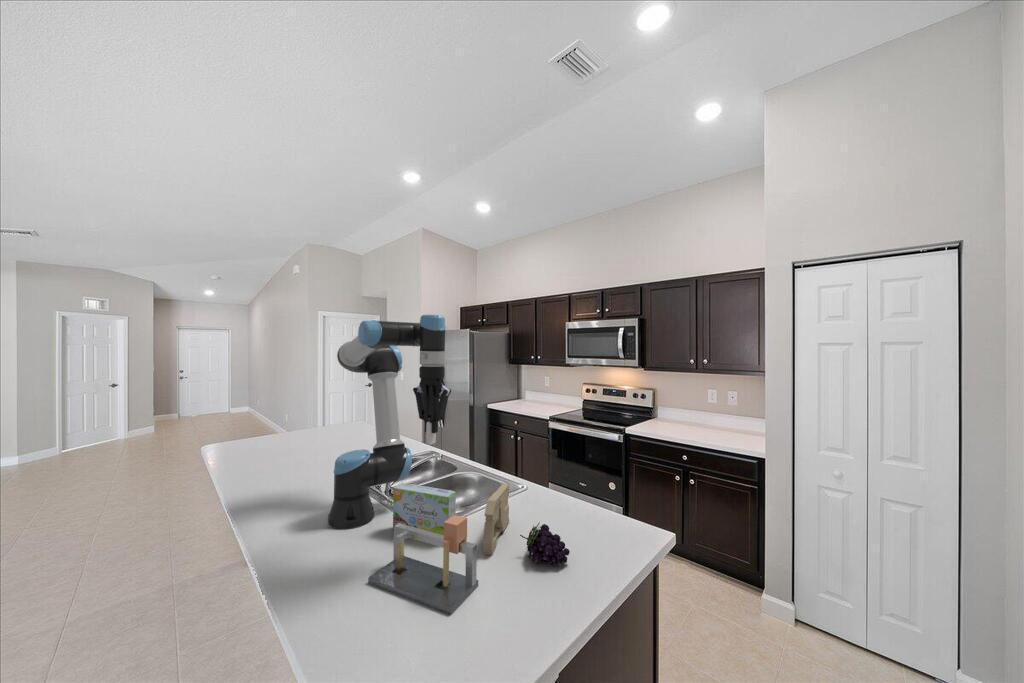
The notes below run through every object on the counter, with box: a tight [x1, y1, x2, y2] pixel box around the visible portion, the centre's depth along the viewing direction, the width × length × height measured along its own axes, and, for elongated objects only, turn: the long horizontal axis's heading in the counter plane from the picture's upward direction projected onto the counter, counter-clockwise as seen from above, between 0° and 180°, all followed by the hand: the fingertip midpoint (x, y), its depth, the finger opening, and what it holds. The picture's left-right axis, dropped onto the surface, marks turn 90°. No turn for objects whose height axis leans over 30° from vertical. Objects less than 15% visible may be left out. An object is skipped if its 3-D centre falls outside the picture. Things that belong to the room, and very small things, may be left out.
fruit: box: [519, 521, 571, 566], centre depth 110 cm, size 10×11×15 cm
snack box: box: [392, 482, 457, 535], centre depth 124 cm, size 21×6×15 cm, turn 70°
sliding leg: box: [442, 515, 468, 587], centre depth 97 cm, size 4×7×15 cm, turn 154°
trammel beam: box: [392, 523, 478, 586], centre depth 99 cm, size 26×6×11 cm, turn 64°
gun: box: [482, 483, 510, 556], centre depth 123 cm, size 24×3×15 cm, turn 168°
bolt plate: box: [367, 555, 479, 616], centre depth 97 cm, size 26×12×2 cm, turn 64°
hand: (431, 443), depth 115 cm, fingers closed
